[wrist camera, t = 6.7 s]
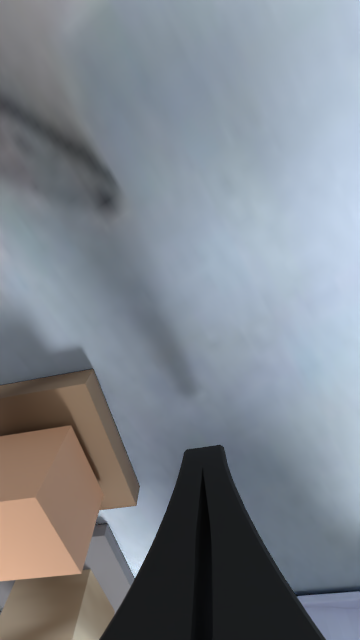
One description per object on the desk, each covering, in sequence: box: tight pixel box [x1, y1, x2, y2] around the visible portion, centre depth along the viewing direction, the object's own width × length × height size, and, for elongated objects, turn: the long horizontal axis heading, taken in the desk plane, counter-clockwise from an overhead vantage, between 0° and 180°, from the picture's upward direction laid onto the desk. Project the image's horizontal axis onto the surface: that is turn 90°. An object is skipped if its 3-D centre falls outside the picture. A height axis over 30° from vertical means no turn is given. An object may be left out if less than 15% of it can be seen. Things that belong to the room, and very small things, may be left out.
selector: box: [0, 425, 104, 581], centre depth 12 cm, size 4×4×3 cm
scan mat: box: [0, 524, 134, 615], centre depth 19 cm, size 16×10×1 cm, turn 103°
